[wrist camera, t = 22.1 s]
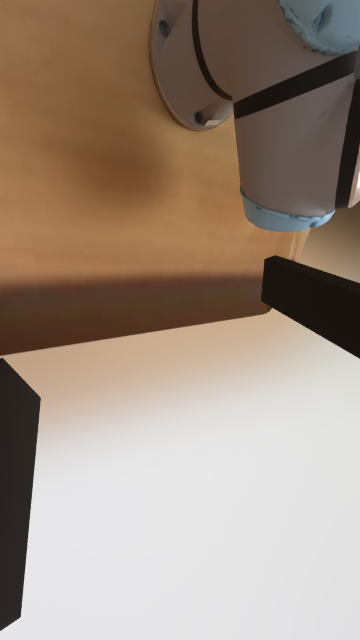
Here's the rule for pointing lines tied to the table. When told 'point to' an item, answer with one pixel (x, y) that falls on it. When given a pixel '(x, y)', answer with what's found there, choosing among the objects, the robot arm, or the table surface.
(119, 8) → the table surface
